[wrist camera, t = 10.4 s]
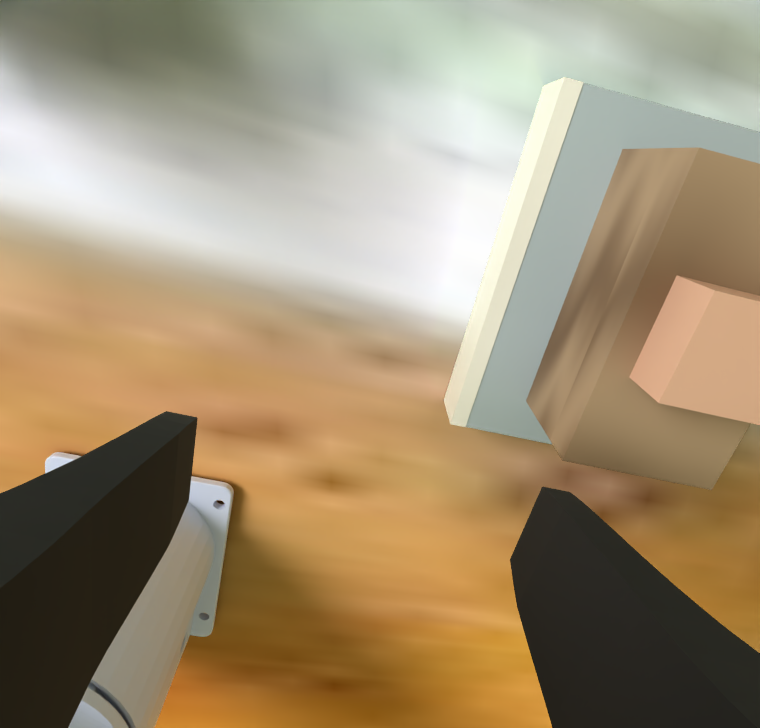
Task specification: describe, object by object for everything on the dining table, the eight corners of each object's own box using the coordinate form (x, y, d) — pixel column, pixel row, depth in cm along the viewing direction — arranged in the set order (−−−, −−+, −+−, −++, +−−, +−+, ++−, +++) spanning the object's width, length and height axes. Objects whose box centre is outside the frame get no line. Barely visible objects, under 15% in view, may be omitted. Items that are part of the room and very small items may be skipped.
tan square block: (724, 398, 15) (764, 426, 13) (629, 377, 14) (658, 402, 13) (779, 300, 13) (829, 318, 12) (676, 275, 13) (715, 290, 12)
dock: (661, 445, 22) (687, 472, 20) (443, 400, 21) (450, 424, 19) (810, 159, 18) (862, 160, 16) (543, 85, 17) (564, 77, 15)
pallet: (647, 426, 19) (711, 490, 16) (525, 401, 19) (562, 460, 15) (767, 187, 16) (883, 197, 12) (622, 148, 16) (699, 147, 12)
